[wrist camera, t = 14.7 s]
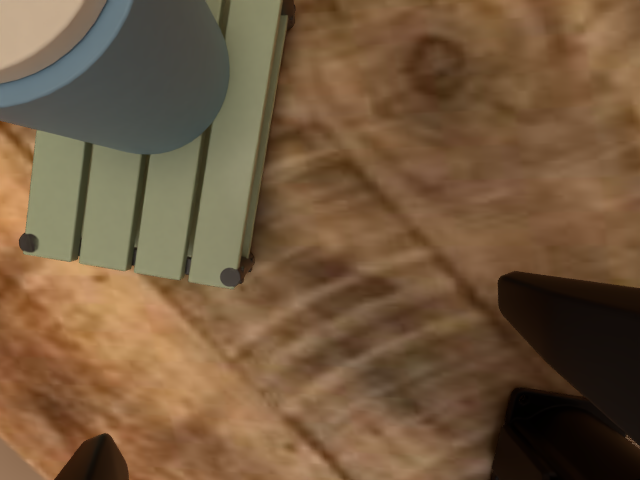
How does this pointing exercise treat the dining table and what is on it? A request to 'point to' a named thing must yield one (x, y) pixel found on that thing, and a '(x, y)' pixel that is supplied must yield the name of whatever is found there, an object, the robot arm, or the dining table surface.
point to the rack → (170, 175)
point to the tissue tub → (113, 70)
